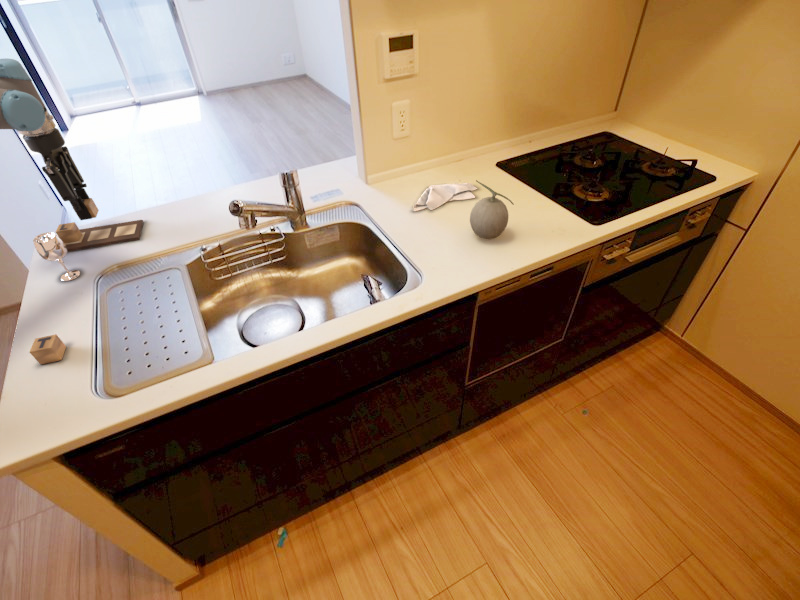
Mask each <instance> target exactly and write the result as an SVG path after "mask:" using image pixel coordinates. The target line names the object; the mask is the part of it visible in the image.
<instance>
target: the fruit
mask: <svg viewBox="0 0 800 600" xmlns="http://www.w3.org/2000/svg"><path fill="white" fill-rule="evenodd" d="M475 182H476V183H478V184H480V185H481V187H484V188H485V189H487V190H488V192H490V193H491V195H492V196H487V197H482V198H481V199H479V200H478V201H476V202H475V204H474V205H473V206H472V209H471V211H470V215H469V223H470V227H471V230H472V231H473V233H474V234H475V235H476V236H477V237H478V238H481V239H485V240H493V239H496V238H498V237H500V236H501V235H502V233H504V232H505V230H506V228H507V226H508V222H509V211H508V208H507V205H506V204H505V203H504V202H503V200H501V199H499V198H498V197H497V196H500V197H502V198H504V199H506V200H508V202H510V203H511V204H512V205H515V203H514V202H513V201H512V200H511V199H510V198H508V197H506V196H505V195H503V194H501V193H499V192H496V191H495V190H493V189H492V188H490V187H489V186H487V185H485V184H484V183H482V182H480V181H479V180H475Z"/></svg>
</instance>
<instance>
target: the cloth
mask: <svg viewBox="0 0 800 600" xmlns="http://www.w3.org/2000/svg"><path fill="white" fill-rule="evenodd" d="M475 190H478V188H477V187H476V186H475V185H473V183H472V182H462V183H459V182H458V183H457V182H455V183H454V182H453V183H442V184H430V185H429V187H427V188H426V189H425V190H424V191H423V193H422V194H421V196H420V197H419V198H418V200H417V201H416V202H415V203H414V205H413V206H412V211H413V212H418V211H422V210H425V209H428V210H429V211H433V210H435V209H437V208H440V207H441V206H443V205H444V204H445V203H448V202H452V201H453V202H454V201H465V200H471V199H475V198H476V196H475V195H474V194H473V191H475Z"/></svg>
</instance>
